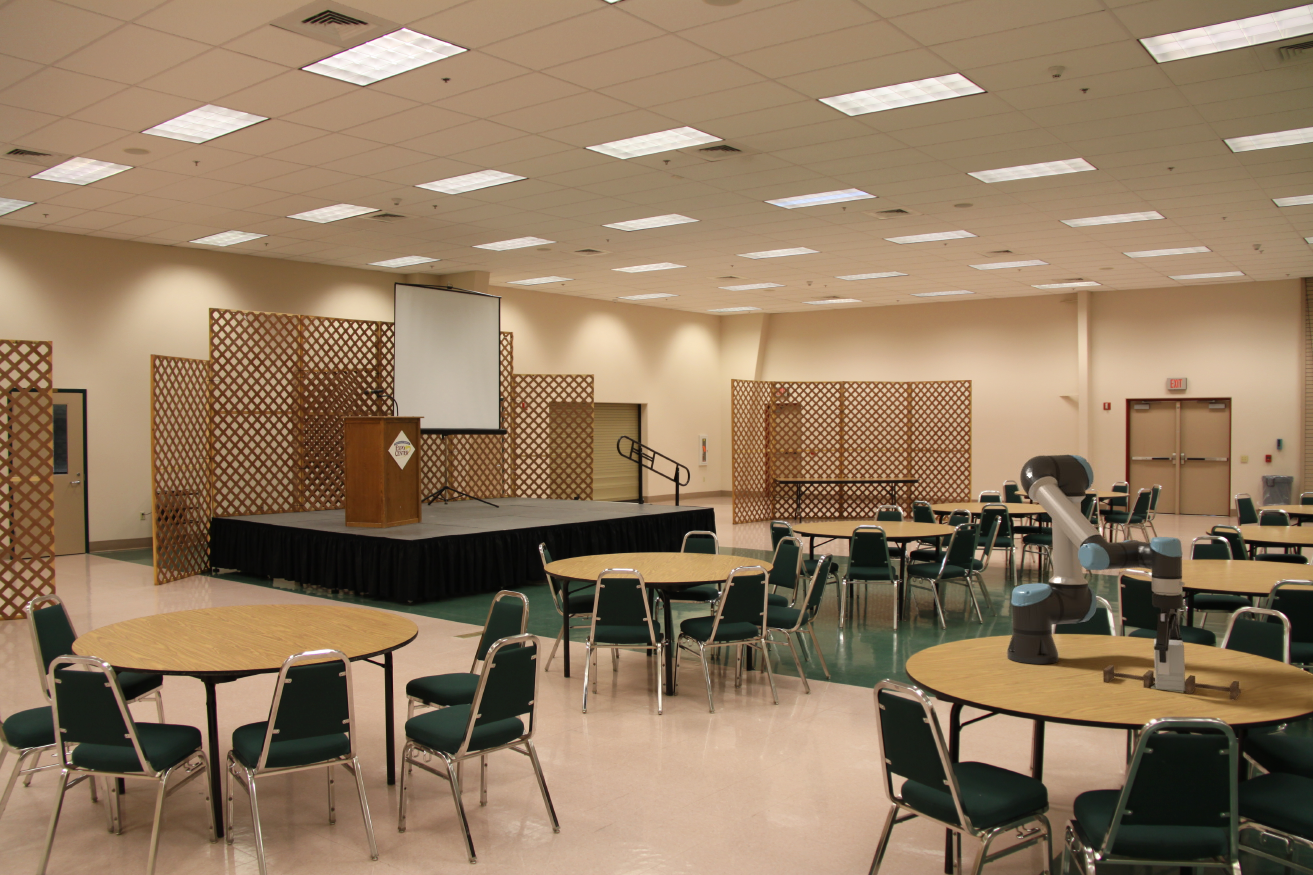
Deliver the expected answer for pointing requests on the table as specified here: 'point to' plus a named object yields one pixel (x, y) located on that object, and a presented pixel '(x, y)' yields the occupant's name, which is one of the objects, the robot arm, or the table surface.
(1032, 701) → the table surface
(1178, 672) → the supplement box
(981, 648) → the table surface
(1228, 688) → the notch rail
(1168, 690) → the pad
